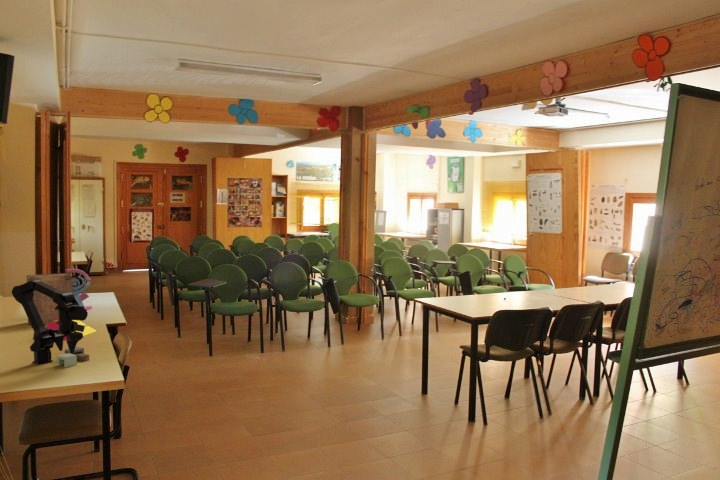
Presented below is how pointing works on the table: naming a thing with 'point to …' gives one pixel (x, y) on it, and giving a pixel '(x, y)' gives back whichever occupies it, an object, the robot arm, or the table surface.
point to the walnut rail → (82, 356)
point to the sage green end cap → (67, 359)
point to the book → (45, 302)
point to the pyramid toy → (86, 331)
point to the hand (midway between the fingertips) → (66, 352)
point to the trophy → (75, 289)
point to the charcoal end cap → (77, 349)
